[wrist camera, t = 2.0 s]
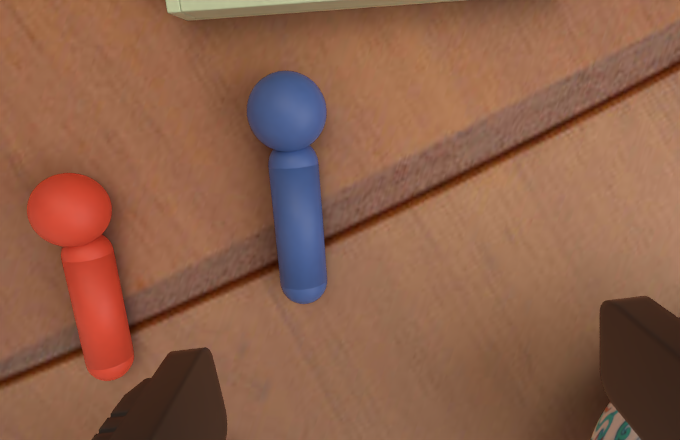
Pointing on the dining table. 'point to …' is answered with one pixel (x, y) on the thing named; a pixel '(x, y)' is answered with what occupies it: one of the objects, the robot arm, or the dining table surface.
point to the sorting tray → (271, 7)
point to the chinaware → (613, 426)
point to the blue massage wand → (293, 177)
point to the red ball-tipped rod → (86, 267)
